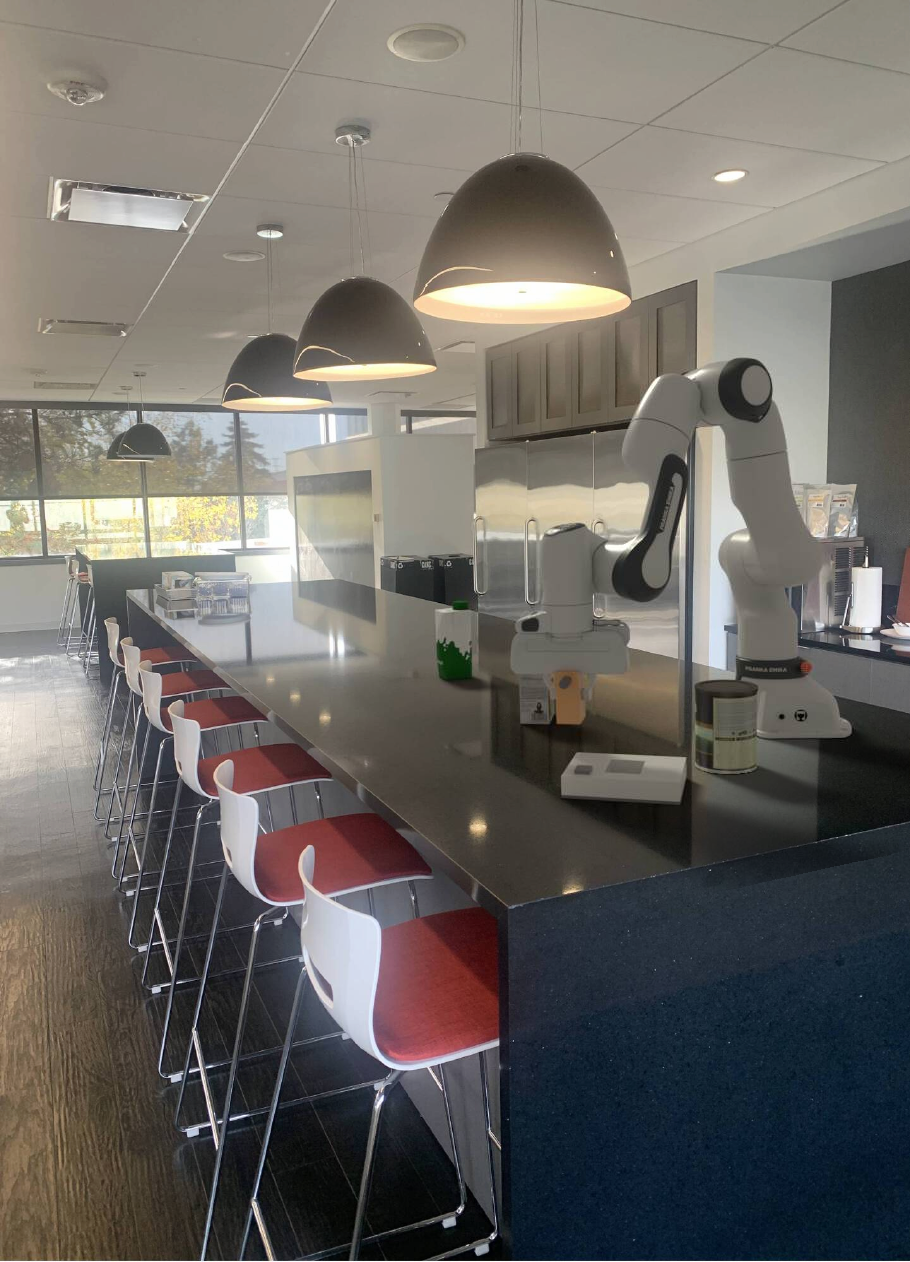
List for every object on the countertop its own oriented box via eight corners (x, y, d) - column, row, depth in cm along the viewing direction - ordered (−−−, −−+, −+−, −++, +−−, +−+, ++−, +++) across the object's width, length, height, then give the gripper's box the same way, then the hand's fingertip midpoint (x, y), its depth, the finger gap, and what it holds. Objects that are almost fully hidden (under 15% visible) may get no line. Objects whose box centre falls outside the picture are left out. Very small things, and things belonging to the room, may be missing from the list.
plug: (585, 715, 166) (584, 665, 164) (576, 728, 157) (575, 675, 156) (563, 715, 167) (561, 665, 166) (553, 728, 158) (551, 675, 157)
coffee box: (525, 714, 205) (523, 641, 202) (554, 714, 203) (553, 640, 201) (519, 724, 196) (517, 647, 194) (550, 724, 194) (548, 647, 192)
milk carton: (476, 678, 248) (473, 602, 245) (443, 681, 245) (440, 604, 242) (466, 672, 256) (463, 599, 253) (434, 675, 254) (431, 601, 251)
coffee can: (684, 769, 160) (683, 687, 158) (710, 755, 168) (710, 677, 166) (742, 778, 153) (743, 693, 151) (767, 763, 161) (767, 682, 159)
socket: (686, 778, 155) (686, 753, 154) (680, 805, 141) (680, 778, 141) (577, 772, 160) (576, 748, 160) (561, 797, 147) (560, 772, 146)
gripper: (631, 616, 161) (633, 695, 163) (514, 617, 167) (518, 694, 169) (627, 621, 155) (629, 704, 157) (506, 622, 161) (509, 702, 163)
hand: (570, 699), depth 163 cm, fingers closed on plug, 4 cm apart
